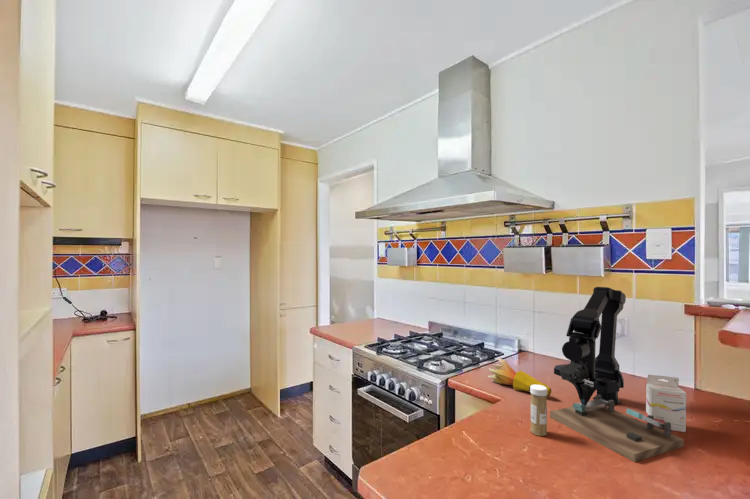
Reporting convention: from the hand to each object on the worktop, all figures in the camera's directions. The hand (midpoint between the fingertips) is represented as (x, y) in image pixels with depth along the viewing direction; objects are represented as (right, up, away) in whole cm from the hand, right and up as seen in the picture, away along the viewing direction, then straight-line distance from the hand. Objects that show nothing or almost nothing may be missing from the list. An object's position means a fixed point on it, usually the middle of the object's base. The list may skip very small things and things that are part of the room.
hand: (584, 405), depth 113 cm
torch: (-11, -5, +25) cm, 27 cm away
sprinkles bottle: (-18, -5, -8) cm, 20 cm away
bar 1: (+3, -1, +1) cm, 4 cm away
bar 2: (+9, +1, -13) cm, 16 cm away
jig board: (+4, -5, -7) cm, 9 cm away
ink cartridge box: (+22, -5, -4) cm, 23 cm away
